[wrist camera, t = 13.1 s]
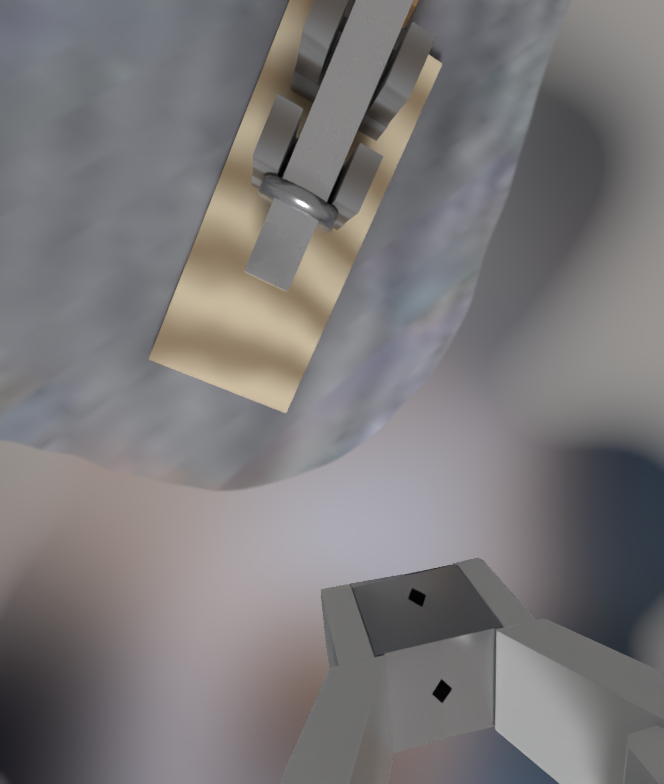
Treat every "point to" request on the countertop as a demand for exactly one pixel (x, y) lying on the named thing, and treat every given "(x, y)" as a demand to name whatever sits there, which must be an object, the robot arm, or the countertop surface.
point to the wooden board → (248, 213)
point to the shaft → (324, 142)
